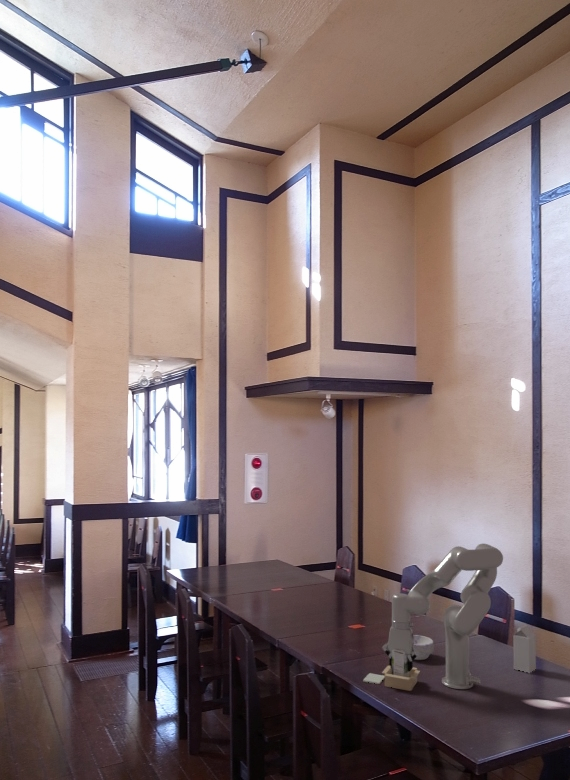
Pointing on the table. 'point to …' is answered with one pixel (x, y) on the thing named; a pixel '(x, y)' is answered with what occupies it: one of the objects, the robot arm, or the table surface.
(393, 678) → the carton
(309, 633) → the table surface
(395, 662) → the syrup box
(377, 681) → the plate
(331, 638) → the table surface
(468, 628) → the robot arm
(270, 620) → the table surface
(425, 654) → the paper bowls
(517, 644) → the milk carton
